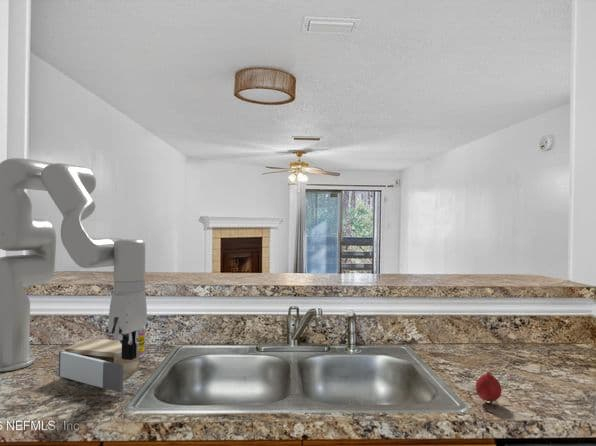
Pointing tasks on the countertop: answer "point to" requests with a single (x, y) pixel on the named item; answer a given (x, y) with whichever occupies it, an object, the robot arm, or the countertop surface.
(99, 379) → the door
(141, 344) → the supplement bottle
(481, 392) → the onion
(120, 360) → the cabinet
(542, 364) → the countertop surface
